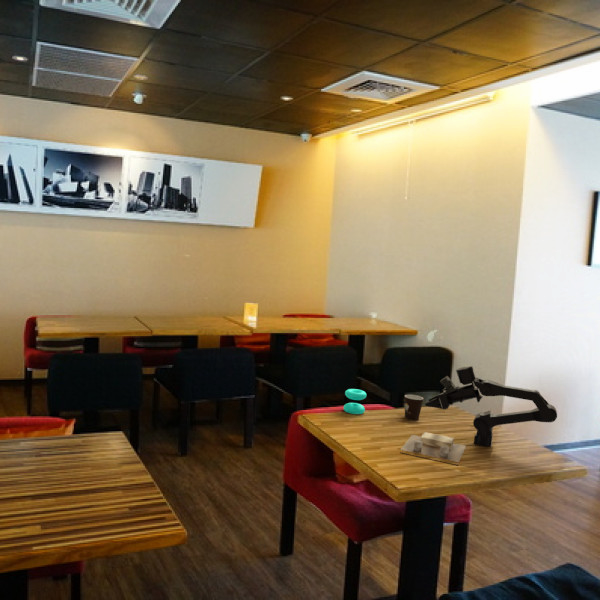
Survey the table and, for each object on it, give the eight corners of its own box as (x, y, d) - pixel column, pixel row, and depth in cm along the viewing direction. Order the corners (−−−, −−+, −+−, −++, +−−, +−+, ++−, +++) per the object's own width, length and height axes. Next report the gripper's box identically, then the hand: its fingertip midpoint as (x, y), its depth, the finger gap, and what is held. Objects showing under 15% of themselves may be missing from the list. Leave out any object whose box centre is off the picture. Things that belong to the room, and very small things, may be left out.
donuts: (363, 395, 284) (342, 391, 287) (361, 416, 285) (340, 412, 288) (369, 390, 293) (349, 387, 297) (367, 411, 294) (346, 407, 298)
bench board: (465, 449, 251) (467, 437, 251) (458, 466, 231) (459, 453, 230) (411, 438, 259) (413, 426, 259) (399, 453, 239) (401, 440, 238)
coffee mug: (422, 421, 285) (425, 400, 284) (403, 419, 286) (406, 398, 285) (418, 414, 297) (420, 394, 296) (400, 412, 297) (402, 392, 296)
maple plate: (453, 443, 252) (454, 437, 252) (450, 449, 244) (451, 443, 244) (423, 437, 256) (424, 431, 256) (419, 443, 249) (420, 437, 249)
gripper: (459, 371, 266) (424, 380, 271) (454, 378, 249) (417, 387, 254) (468, 396, 265) (432, 405, 271) (463, 405, 248) (425, 414, 253)
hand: (427, 402), depth 262 cm, fingers open, 9 cm apart
